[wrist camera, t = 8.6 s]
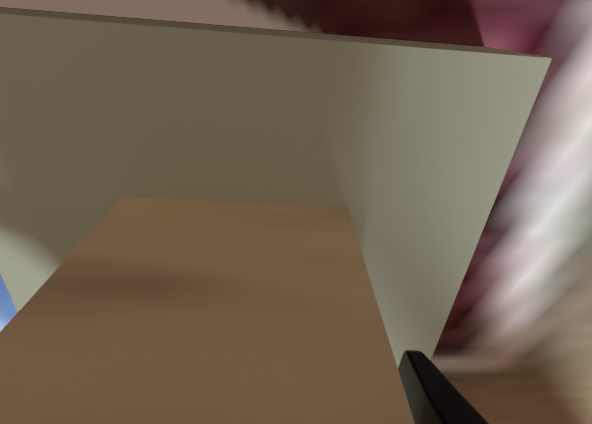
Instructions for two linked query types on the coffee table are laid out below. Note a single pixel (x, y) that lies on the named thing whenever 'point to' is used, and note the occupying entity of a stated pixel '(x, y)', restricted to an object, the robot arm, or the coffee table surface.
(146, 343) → the birch cube
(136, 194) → the sage base block
